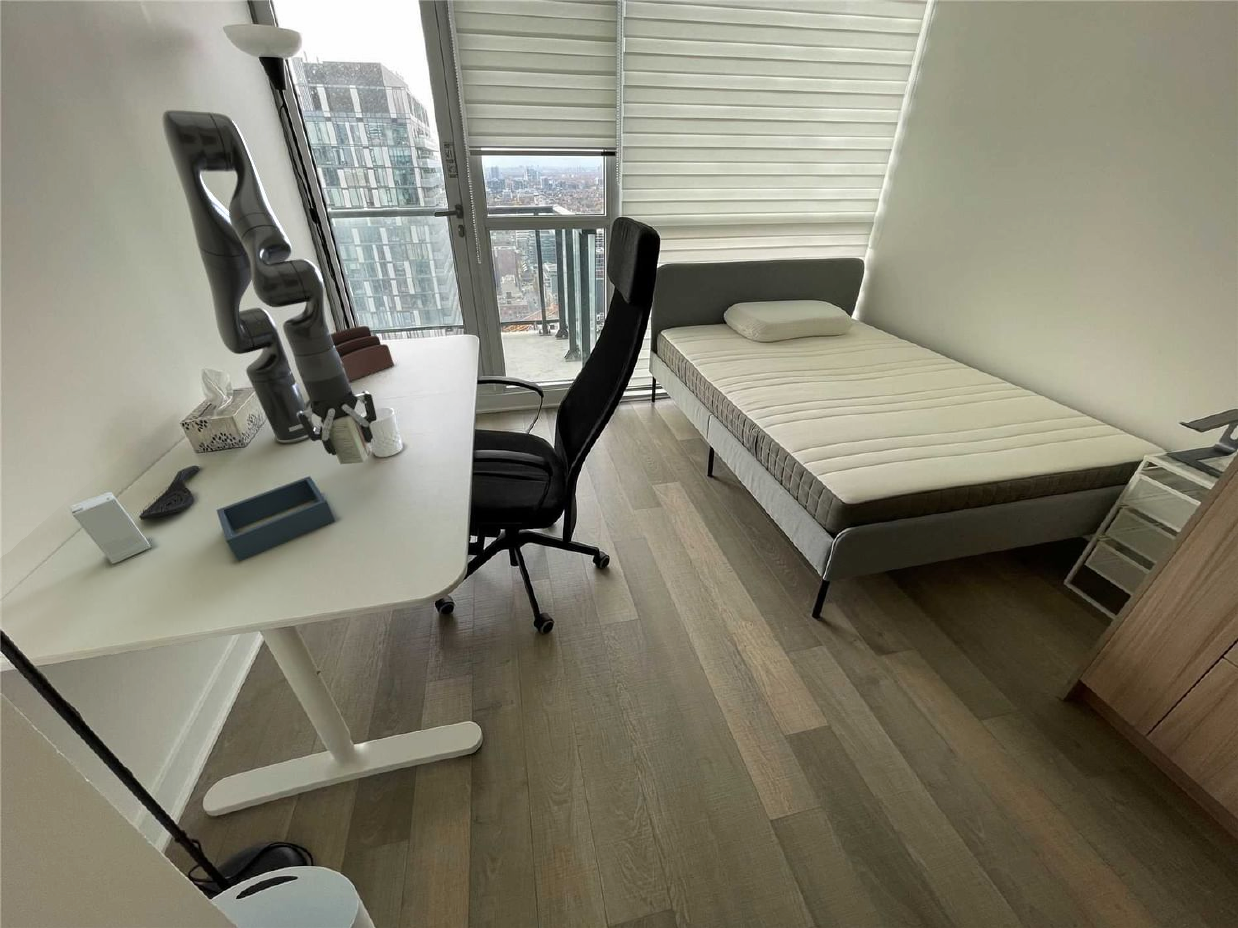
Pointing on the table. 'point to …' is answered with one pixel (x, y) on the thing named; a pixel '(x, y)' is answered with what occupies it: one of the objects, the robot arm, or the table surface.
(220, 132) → the robot arm
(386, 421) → the white cup
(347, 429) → the white rectangular carton
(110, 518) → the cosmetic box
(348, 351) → the letter holder
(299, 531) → the blue open box
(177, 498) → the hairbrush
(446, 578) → the table surface
